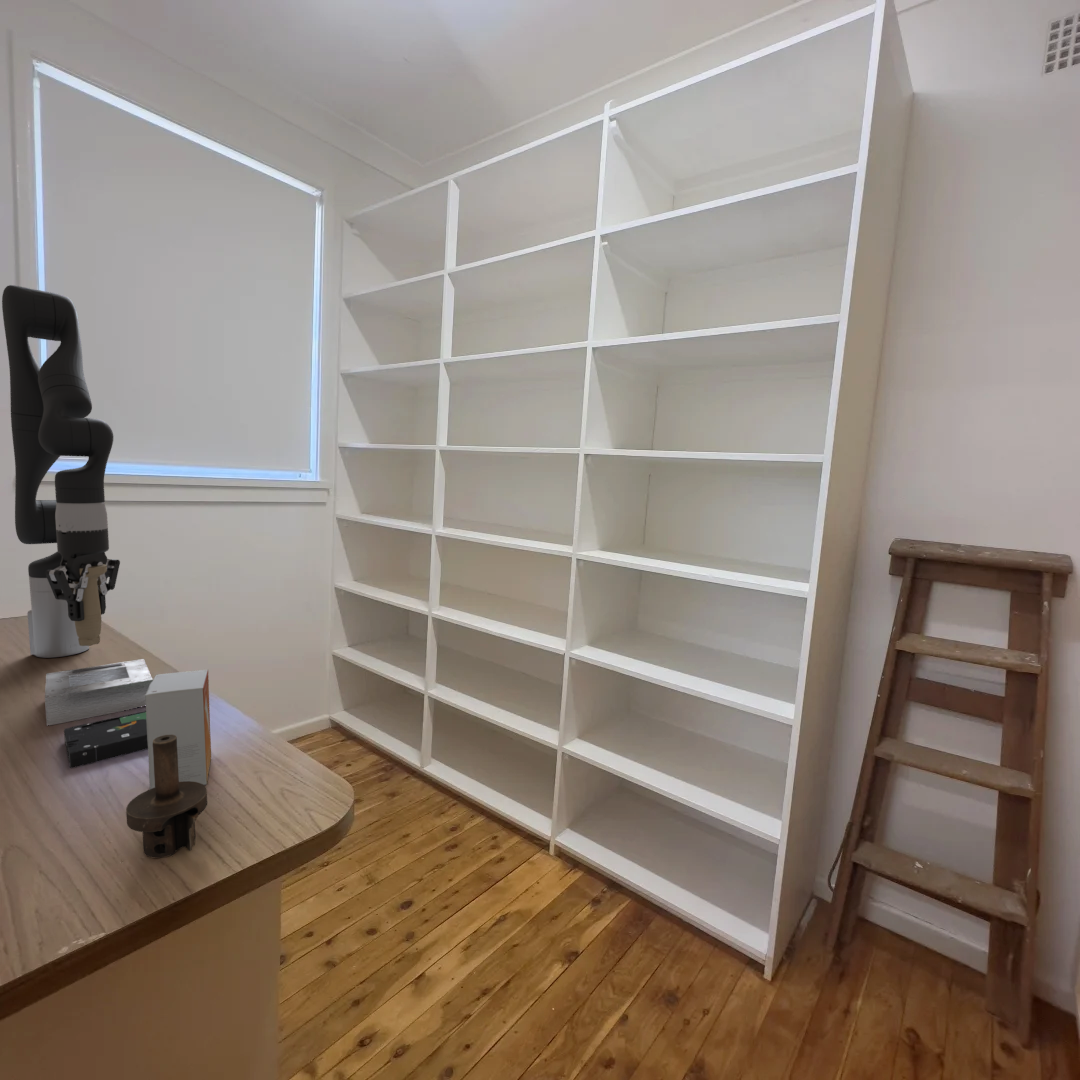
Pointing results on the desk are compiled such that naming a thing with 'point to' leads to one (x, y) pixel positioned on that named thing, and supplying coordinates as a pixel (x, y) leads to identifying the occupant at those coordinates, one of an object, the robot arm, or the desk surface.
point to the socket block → (95, 691)
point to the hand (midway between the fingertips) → (87, 616)
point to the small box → (181, 721)
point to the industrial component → (167, 805)
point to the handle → (90, 609)
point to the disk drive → (106, 739)
